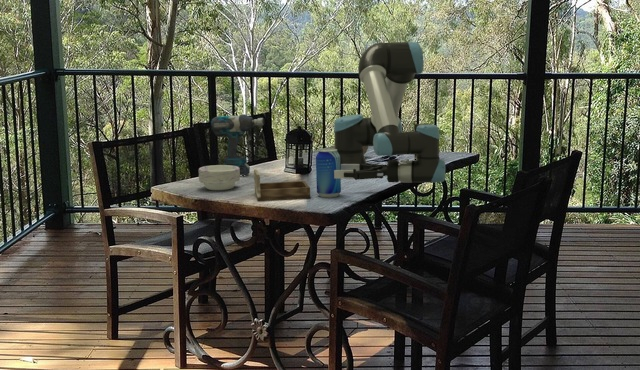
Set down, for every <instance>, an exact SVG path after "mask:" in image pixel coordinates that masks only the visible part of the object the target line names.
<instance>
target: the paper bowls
mask: <svg viewBox="0 0 640 370" xmlns="http://www.w3.org/2000/svg"><path fill="white" fill-rule="evenodd" d="M240 180H241V177H240V168H239V167H237V166H231V165H225V164H216V165H215V164H214V165H204V166H201V167H199V168H198V181H199V182H200V183H203V185H204V187H205V189H207V190H210V191H227V190H230V189H233V188H234V187H235V185H236V183H237V182H239V181H240Z"/></svg>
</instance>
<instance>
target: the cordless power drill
mask: <svg viewBox="0 0 640 370" xmlns="http://www.w3.org/2000/svg"><path fill="white" fill-rule="evenodd" d="M264 125H265V118H264V117H258V118H257V119H256V118H255V119H254V118H253V117H252V116H249V115H247V114H243V113H242V114H239V115H221V116H214V117H213V118H212V119H211V120H210V127H211V131H212V132H213V134H214V136H216V137H217V138H221V137H227V138H228V140H227V155H226V156H225V157H224V158H223V159H224V160H223V165H231V166H237V167H239V168H240V175H242V176H243V177H245V176H244V175H246V176H247V175H249V174H250V169H251V168H250V165H249V164H248V163H247V158H245V157H244V156H239V155H238V154H237V149H238V145H239V142H241V141H242V135H245V133H246V132H248V131H250V130H252V129H254V127H259V128H262V127H263V126H264Z"/></svg>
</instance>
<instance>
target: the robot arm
mask: <svg viewBox="0 0 640 370" xmlns="http://www.w3.org/2000/svg"><path fill="white" fill-rule="evenodd" d="M357 68H358V69H357V70H358V77H359V80H360V81H361V83H363V85H364V87H365V93H366V96H367V100H368V103H369V107H370V111H371V115H370V117H364V115H363V114H351V115H350V114H349V115H345V116H340V117H338V118H336V119H335V120H334V122H333V123H334V124H333V132H334V135H333V136H334V145H335V149H337V152H338V153H339V155H340V170H334V178H341V179H352V180H353V179H354V180H355V181H357V180H358V181H359V180H369V179H383V178H384V177H387V178H386V179H387V182H388V183H403V184H404V183H407V184H409V183H411V184H412V183H423V184H424V183H426V184H427V183H429V184H432V183H443V182H445V180H446V161H445V160H441V159H440V140H441V139H440V129H439V126H438V125H437V124H432V125H419V126H417V128H416V131H402V130H403V124H402V121H401V119H400V118H399V116H398V114H399V112H400V108H401V107H402V103H403V99H404V96H405V93H406V90H407V87H408V84H410V83H411V82H413V80H414V78H415V77H416V76H415V75H420V74H422V73H423V71H424V54H423V49H422V46H421V44H419V42H416V41H414V42H413V41H397V42H394V41H393V42H377V43H373V44H372V45H370V46H368V47H367V48H366V49H365V50H364V52H363V53H362V55H361V57H360V59H359V60H358V66H357ZM436 125H437V126H436ZM365 146H369V147H373V151H374V154H375V155H377V156H379V157H380V156H381V157H382V156H385V157H386V156H387V157H391V156H400V155H415V154H417V160H415V159H414V160H410V159H409V158H406V160H402V159H401V160H400V161H399V160H396V159H393V160H392V159H391V160H390V159H389V160H388V161H387V163H385V164H379V163H378V164H377V163H376V164H375V163H367V160H366V157H365V154H363V147H365Z"/></svg>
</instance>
